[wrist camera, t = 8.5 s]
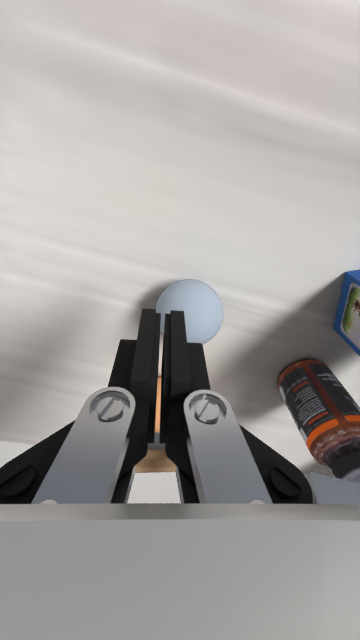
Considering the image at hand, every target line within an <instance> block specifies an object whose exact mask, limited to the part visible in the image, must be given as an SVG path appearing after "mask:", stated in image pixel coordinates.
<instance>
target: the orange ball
mask: <svg viewBox="0 0 360 640" xmlns="http://www.w3.org/2000/svg"><path fill="white" fill-rule="evenodd" d="M160 403H161V377H159V378H158V382H157V401H156V419H155V432H158V433H160Z"/></svg>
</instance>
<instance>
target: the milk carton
mask: <svg viewBox="0 0 360 640" xmlns="http://www.w3.org/2000/svg"><path fill="white" fill-rule="evenodd" d="M333 329H334V330H335V331H336V332H337V333H338V334H339V335H340V336H341V337H342V338H343V339H344V340H345V341H346V342H347V343H348V344H349V345H350V346H351V347H352V349H353V350H354V351H355V352H356V353H357V354H358V355H359V356H360V270H355V271H349V272H345V277H344V281H343V286H342V290H341V295H340V299H339V304H338V308H337V312H336V317H335V321H334V326H333Z"/></svg>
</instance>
